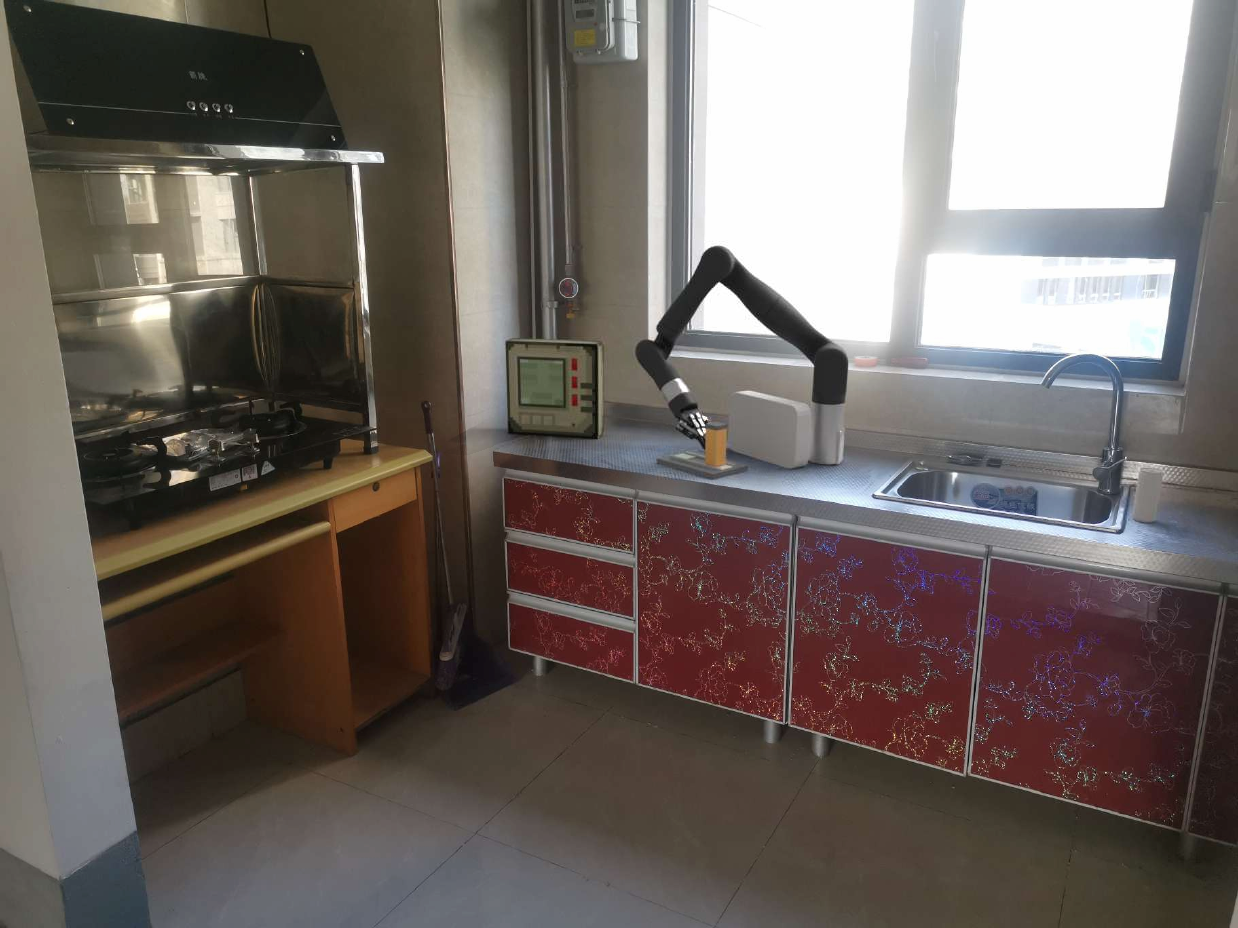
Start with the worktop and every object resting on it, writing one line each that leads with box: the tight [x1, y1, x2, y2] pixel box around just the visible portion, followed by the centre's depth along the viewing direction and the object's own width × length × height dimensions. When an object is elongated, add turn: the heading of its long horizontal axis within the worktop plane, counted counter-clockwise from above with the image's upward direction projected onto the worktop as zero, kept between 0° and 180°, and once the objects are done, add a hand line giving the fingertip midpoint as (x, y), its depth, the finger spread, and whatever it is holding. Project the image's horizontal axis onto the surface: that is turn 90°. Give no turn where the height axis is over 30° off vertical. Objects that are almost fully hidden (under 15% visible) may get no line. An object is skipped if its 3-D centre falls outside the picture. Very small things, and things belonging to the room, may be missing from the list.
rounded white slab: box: [727, 390, 811, 470], centre depth 263 cm, size 29×8×18 cm, turn 33°
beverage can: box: [1131, 467, 1164, 524], centre depth 210 cm, size 5×5×12 cm
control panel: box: [505, 337, 605, 440], centre depth 290 cm, size 30×8×30 cm, turn 76°
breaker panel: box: [656, 450, 749, 480], centre depth 255 cm, size 22×14×2 cm, turn 41°
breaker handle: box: [704, 421, 729, 466], centre depth 249 cm, size 4×4×11 cm
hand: (709, 448), depth 252 cm, fingers closed
